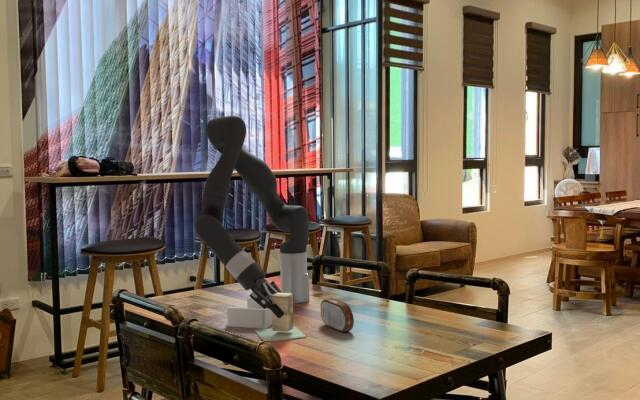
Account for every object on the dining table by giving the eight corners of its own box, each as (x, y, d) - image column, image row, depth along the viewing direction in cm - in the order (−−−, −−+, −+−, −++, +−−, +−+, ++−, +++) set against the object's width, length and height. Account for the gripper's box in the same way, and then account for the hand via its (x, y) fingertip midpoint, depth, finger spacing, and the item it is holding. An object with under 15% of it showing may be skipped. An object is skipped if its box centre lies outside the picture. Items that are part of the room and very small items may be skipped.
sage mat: (294, 327, 198) (294, 325, 198) (305, 337, 186) (305, 336, 186) (254, 331, 194) (254, 329, 194) (263, 342, 183) (263, 340, 183)
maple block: (278, 326, 192) (278, 292, 192) (293, 327, 191) (292, 293, 190) (272, 330, 188) (271, 295, 188) (287, 332, 187) (286, 296, 186)
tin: (354, 333, 189) (354, 304, 189) (345, 335, 188) (344, 305, 187) (328, 322, 202) (327, 295, 202) (319, 324, 201) (318, 296, 200)
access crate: (226, 327, 201) (225, 307, 200) (247, 315, 215) (247, 297, 215) (266, 330, 197) (265, 309, 196) (285, 317, 211) (284, 299, 210)
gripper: (242, 265, 184) (284, 311, 181) (263, 257, 198) (302, 299, 195) (225, 283, 186) (267, 329, 183) (247, 274, 200) (286, 316, 197)
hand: (285, 313), depth 189 cm, fingers closed on maple block, 4 cm apart
